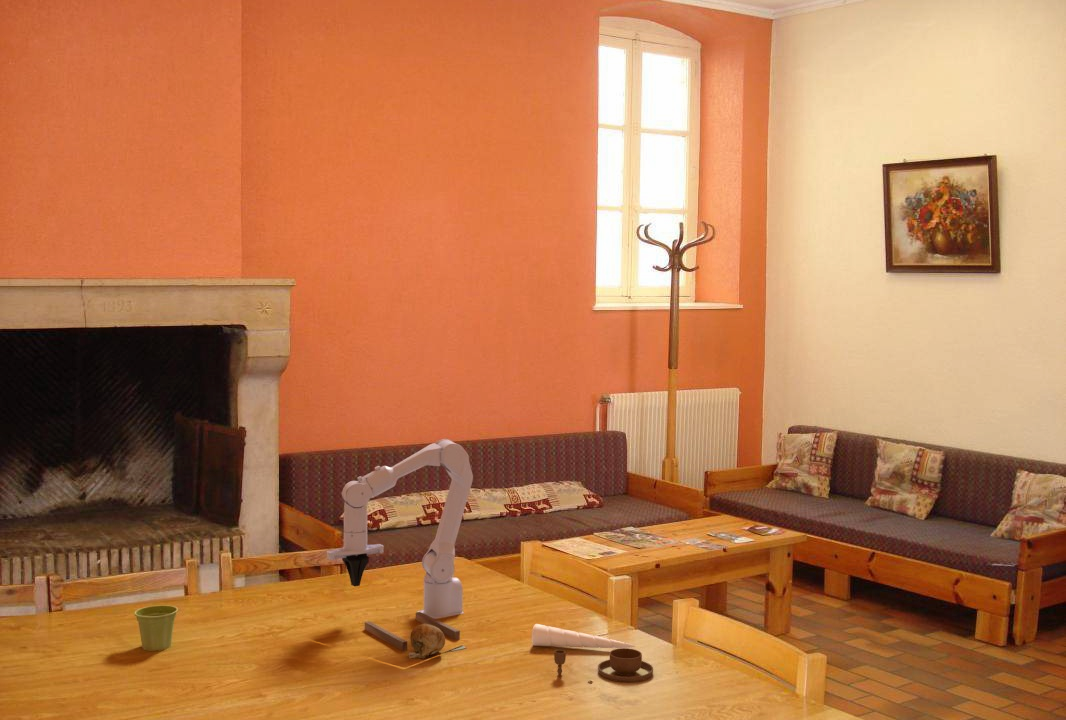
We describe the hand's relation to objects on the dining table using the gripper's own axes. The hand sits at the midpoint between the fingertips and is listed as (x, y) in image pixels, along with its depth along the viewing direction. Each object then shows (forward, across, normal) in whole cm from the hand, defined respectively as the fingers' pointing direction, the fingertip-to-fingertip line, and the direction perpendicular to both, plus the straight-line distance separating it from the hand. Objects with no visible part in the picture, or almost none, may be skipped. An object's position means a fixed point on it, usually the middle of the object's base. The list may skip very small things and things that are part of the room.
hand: (355, 585), depth 269 cm
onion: (+4, -3, +28) cm, 29 cm away
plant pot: (+10, +46, -8) cm, 48 cm away
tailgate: (+9, -6, +27) cm, 29 cm away
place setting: (+10, -29, +61) cm, 69 cm away
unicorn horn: (+14, -37, +50) cm, 63 cm away
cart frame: (+9, -6, +17) cm, 20 cm away
